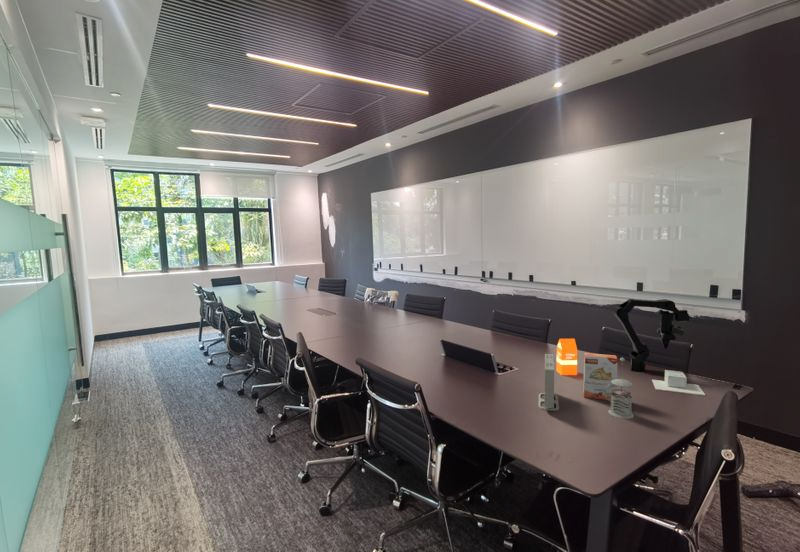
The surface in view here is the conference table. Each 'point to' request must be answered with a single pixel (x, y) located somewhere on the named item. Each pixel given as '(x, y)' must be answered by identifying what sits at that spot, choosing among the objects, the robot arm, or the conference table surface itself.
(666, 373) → the small box
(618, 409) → the french press
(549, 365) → the network device
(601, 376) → the cracker box
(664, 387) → the grey mat
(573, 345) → the orange juice
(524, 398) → the conference table surface
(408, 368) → the conference table surface
